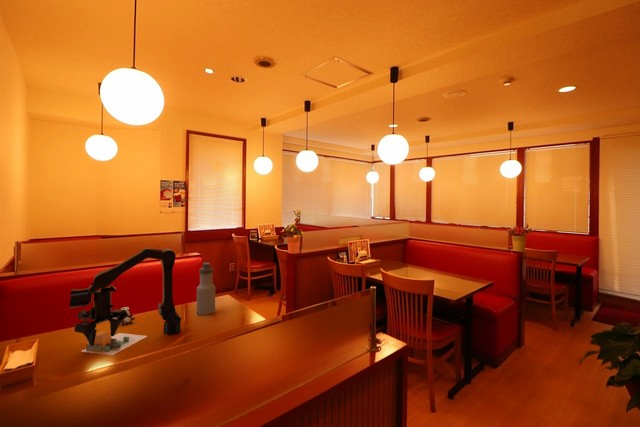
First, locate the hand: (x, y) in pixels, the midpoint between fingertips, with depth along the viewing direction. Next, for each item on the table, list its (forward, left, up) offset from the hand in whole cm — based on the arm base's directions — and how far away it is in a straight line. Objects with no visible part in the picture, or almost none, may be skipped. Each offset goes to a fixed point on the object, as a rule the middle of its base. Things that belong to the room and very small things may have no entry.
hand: (102, 340), depth 121 cm
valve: (+15, -26, -4) cm, 31 cm away
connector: (-3, 0, -3) cm, 4 cm away
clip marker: (-4, -5, -3) cm, 7 cm away
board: (-2, -4, -4) cm, 6 cm away
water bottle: (-15, -49, -4) cm, 52 cm away
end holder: (0, 0, -3) cm, 3 cm away
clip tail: (-4, 0, -3) cm, 5 cm away
